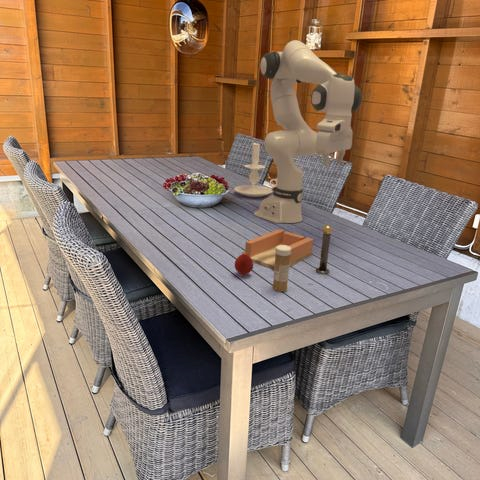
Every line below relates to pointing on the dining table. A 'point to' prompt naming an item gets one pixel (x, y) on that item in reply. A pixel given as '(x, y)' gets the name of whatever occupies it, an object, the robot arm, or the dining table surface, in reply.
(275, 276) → the sprinkles bottle
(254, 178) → the candlestick
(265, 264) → the tray
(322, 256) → the post stand
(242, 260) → the onion
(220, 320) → the dining table surface
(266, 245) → the c link
